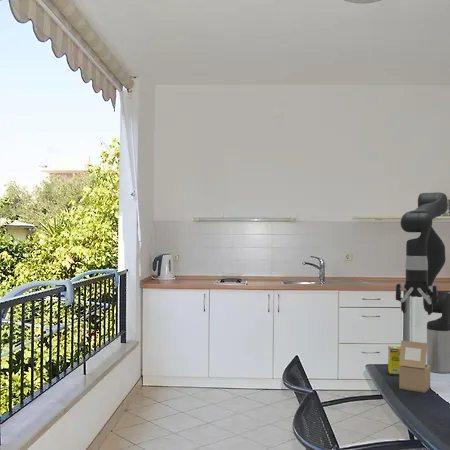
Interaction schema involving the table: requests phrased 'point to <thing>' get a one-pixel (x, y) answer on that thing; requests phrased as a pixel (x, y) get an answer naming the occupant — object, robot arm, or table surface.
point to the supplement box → (393, 360)
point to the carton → (414, 378)
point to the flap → (413, 354)
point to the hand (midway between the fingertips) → (416, 313)
